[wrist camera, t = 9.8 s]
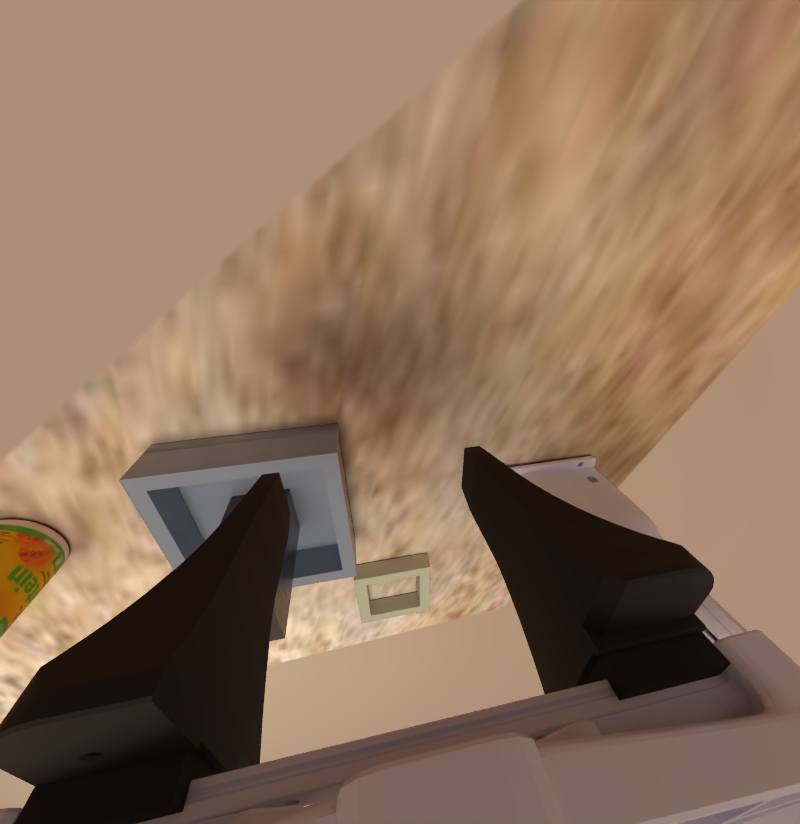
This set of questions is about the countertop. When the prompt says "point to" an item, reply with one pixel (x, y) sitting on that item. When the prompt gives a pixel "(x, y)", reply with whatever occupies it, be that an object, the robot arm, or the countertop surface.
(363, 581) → the holder
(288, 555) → the dark wooden post
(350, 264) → the countertop surface
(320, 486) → the tray
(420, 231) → the countertop surface
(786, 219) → the countertop surface
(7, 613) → the supplement bottle
